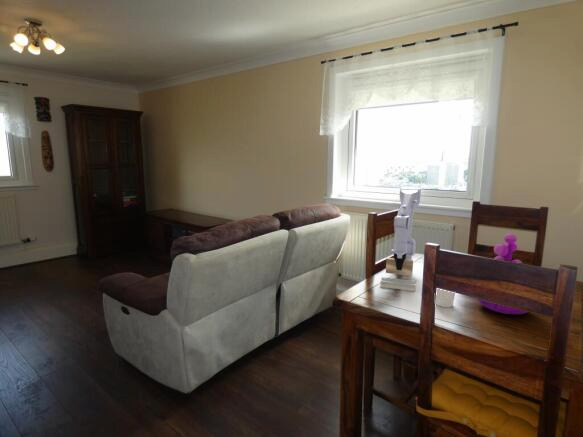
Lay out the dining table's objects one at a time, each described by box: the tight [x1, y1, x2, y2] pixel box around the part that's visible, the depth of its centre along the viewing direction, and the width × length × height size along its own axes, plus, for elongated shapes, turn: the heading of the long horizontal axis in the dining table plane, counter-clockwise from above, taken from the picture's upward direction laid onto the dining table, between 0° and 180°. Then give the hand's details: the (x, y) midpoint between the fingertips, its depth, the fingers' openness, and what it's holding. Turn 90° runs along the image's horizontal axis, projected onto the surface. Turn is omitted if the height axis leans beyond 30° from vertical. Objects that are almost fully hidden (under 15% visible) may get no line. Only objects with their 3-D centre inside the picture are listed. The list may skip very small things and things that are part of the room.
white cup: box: [435, 289, 456, 308], centre depth 135 cm, size 8×8×10 cm
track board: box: [379, 276, 417, 292], centre depth 155 cm, size 7×15×2 cm, turn 71°
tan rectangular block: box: [385, 257, 414, 277], centre depth 161 cm, size 2×12×7 cm, turn 71°
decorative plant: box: [477, 233, 528, 315], centre depth 128 cm, size 19×18×30 cm
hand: (399, 269), depth 161 cm, fingers closed on tan rectangular block, 2 cm apart
